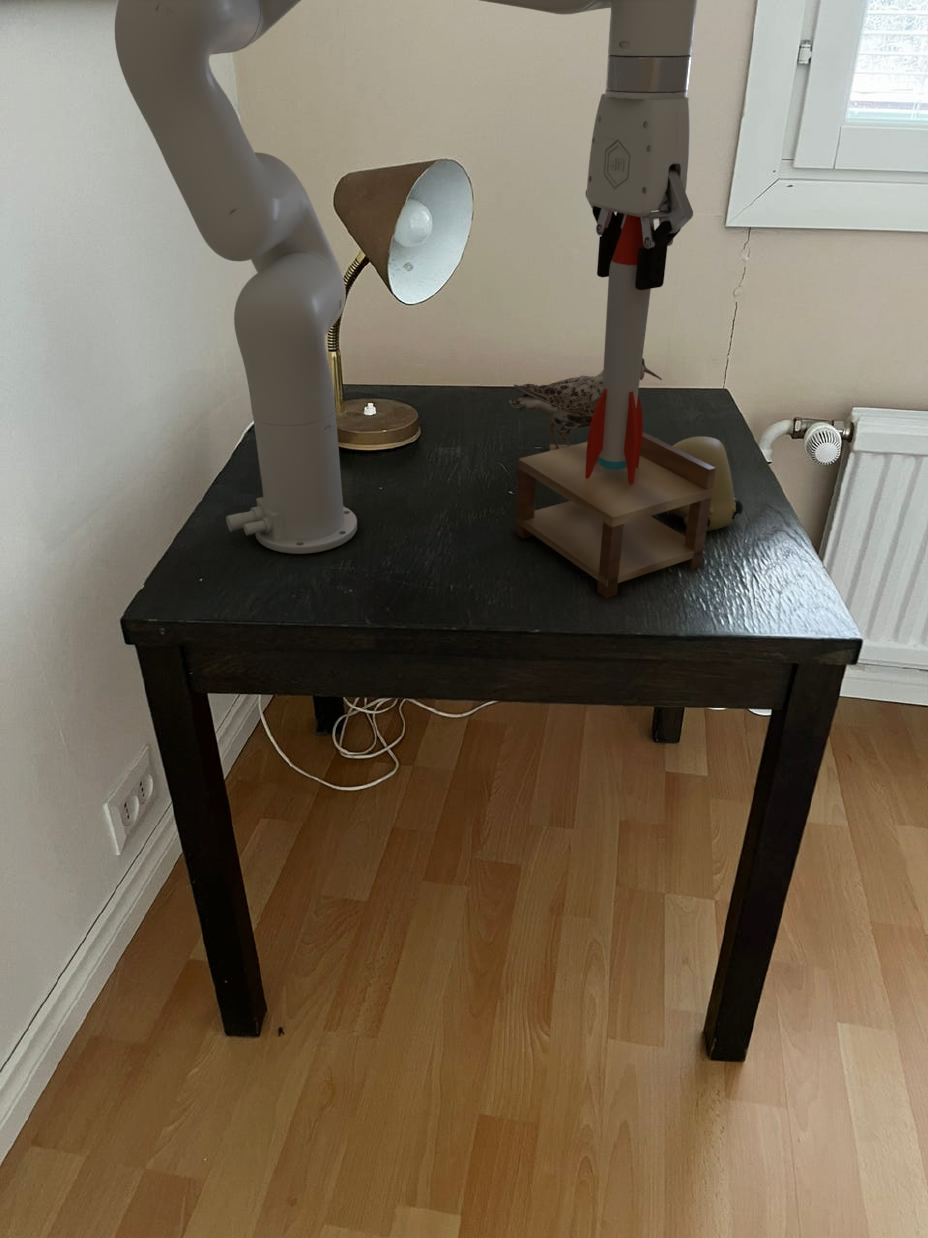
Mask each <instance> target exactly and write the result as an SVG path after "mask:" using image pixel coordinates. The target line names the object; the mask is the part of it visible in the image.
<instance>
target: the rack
mask: <svg viewBox="0 0 928 1238" xmlns="http://www.w3.org/2000/svg"><path fill="white" fill-rule="evenodd" d="M587 442H588V441H585V442H581V443H577V444H571V445H572V446H568V447H564V448H560V449H556V450H552V451H549V450H547V451H544V452H539V453H536V454H532V455H527V456H523V457H520V458H519V457H518V459H517V460H518V461H517V464H518V465H517V492H516V495H517V497H516V528H515V534H516V535H518V536H519V537H520V538H521V539H526V538H530V537H533V536H534V537H536V538H537V539H539V540H540V541H541V542H543V543H544V544H545V545H547V546H549V547H550V548H552V549H553V550H554V551H556V552H557V553H558V554H560V555H561V556H562V557H564V558H565V559H566V560H568V561H569V562H571V563H572V564H574V565H575V566H577V567H578V568H580V569H581V570H582V571H584V572H585V573H587V574H588V575H589V576H591V577H592V578H593V579H595V580H596V581H597V589H596V592H597V594H599V595H600V596H601V597H603V598H604V599H608V598H611V597H615V596H617V594H618V586H619V583H622V582H626V581H629V580H632V579H635V578H638V577H640V576H644V575H647V574H649V573H653V572H656V571H659V570H662V569H665V568H667V567H671V566H674V565H676V564H680V563H681V565H682V566H684V567H685V568H687V569H689V570H694V569H697V568H700V567H702V562H703V561H702V560H703V554H704V548H705V543H706V542H705V541H706V534H707V531H706V529H707V523H708V516H709V509H710V503H711V497H712V490H713V484H714V477H715V471H716V468H715V467H713V466H711V465H709V464H707V463H705V462H703V461H701V460H699V459H697V458H695V457H693V456H691V455H689V454H687V453H685V452H683V451H681V450H679V449H677V448H674V447H672V446H673V445H670V444H669V443H666V442H665V441H662V440H661V439H658V438H657V437H655V436H653V435H650V434H648V433H646V432H644V431H643V432H642V444H641V452H640V459H639V467H635V475H634V483H633V484H631V485H630V483H629V481H628V473H627V467H626V468H623V469H608V468H605V467H602V466H601V465H600V464H599V462H598V461H596V463H595V465H594V468H593V471H592V474H591V476H590V477H589V478H588V479H586V478H585V472H586V451H587ZM537 481H538V482H540V483H541V484H542V485H545V486H546V487H547V488H549V489H551V490H552V491H554V492H555V493H557V494H558V495H560V496H562V497H563V498H565V499H567V500H568V501H565V502H561V503H558V504H554V505H550V506H546V507H543V508H540V509H536V488H537V487H536V485H537ZM689 504H690V508H689V516H688V523H687V526H686V531H685V535H683V534H681V533H680V532H678V531H676V530H675V529H673V528H671V527H669V526H668V525H666V524H664V523H662V522H661V521H660V520H658V519H656V518H654V517H653V516H655V515H658V514H662V513H665V512H669V511H670V510H672V509H675V508H679V507H682V506H685V505H689Z"/></svg>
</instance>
